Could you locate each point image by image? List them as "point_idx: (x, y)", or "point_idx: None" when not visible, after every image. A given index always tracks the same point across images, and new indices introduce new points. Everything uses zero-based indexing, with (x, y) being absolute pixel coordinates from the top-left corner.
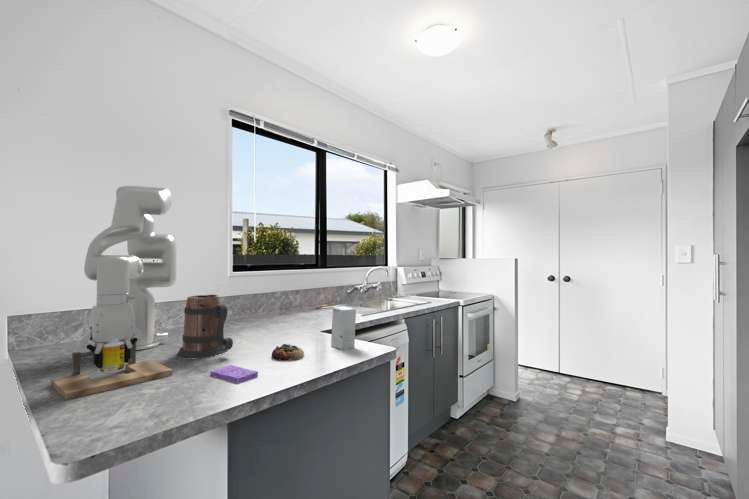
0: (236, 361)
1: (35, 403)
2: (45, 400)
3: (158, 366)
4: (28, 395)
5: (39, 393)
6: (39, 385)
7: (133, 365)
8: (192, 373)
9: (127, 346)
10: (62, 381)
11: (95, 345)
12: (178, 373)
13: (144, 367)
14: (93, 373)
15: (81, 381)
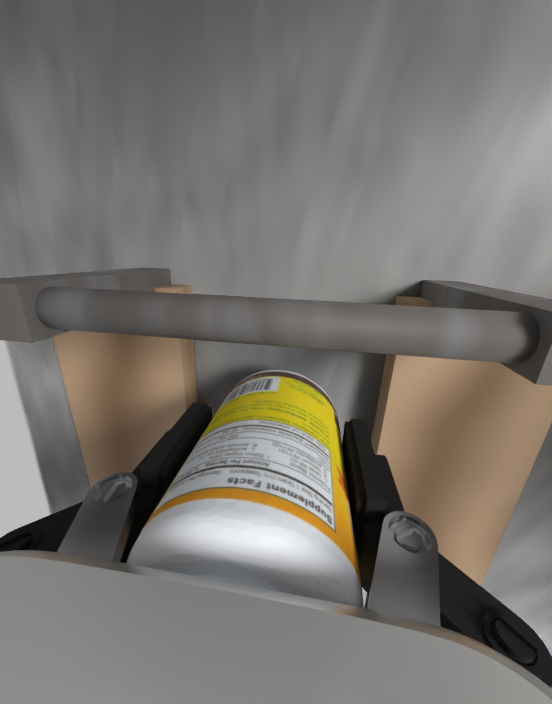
0: None
1: (45, 463)
2: (66, 460)
3: (485, 500)
4: (11, 362)
5: (40, 369)
6: (22, 239)
7: (424, 367)
8: (526, 602)
9: (367, 602)
10: (85, 371)
11: (81, 549)
12: (496, 562)
13: (431, 459)
14: (246, 219)
15: (149, 436)
